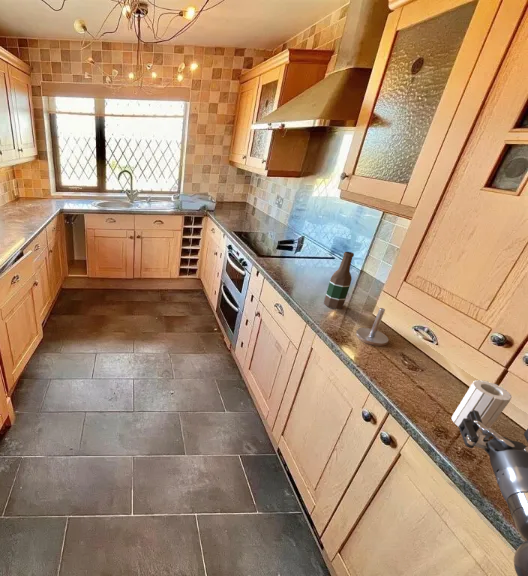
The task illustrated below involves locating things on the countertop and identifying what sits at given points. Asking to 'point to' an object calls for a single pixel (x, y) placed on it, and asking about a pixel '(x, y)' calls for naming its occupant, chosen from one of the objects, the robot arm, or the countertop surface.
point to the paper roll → (482, 403)
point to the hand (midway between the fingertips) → (499, 421)
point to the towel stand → (373, 332)
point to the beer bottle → (339, 283)
